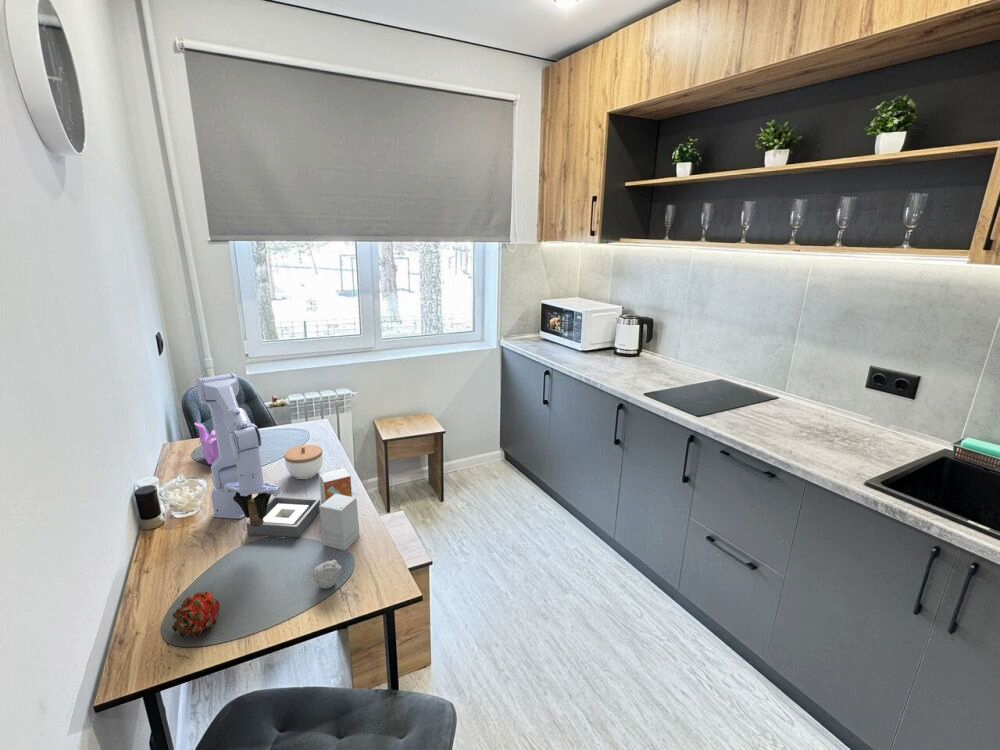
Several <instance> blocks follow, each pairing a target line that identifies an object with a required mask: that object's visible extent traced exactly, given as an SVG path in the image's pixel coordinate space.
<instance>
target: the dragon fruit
mask: <svg viewBox="0 0 1000 750" xmlns="http://www.w3.org/2000/svg"><path fill="white" fill-rule="evenodd" d="M220 605H221V604H220V602H219V600H218V599H217V598H216V599H215V596H214V595H213V593H211V592H210V591H207V590H205V592H199V591H198V592H196V593H195V594H194V595H193V596H192V597H190V596H187V597H186V598H185V599H184V600H183V601H182V602H181V605H180V607H179V608H177V609H176V610H175V612H173V613H172V618H173V619H174V620H175V622H174V623H173V625H172V627H171V628H172V629H171V630H172V631H173V632H178V636H179V637H181V638H184V637H187V636H192V635H193V636H192V638H193V639H195V638H198V637H200V635H201V634H202V633H203V631H204V630H205V629H208V628H211V627H212V626H216V625H215V624H217V618H216V616H217V615H218V613H219V612H220V610H221V609H220V607H221V606H220Z"/></svg>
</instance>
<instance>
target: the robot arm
mask: <svg viewBox="0 0 1000 750" xmlns="http://www.w3.org/2000/svg"><path fill="white" fill-rule="evenodd" d="M195 383H196V390H197V394H198V400H199V402H200V405H204V406H208V408H209V411H210V416H211V419H212V425H213V430H214V431H215V436H216V441H217V446H218V451H219V458H218V459H217V460H216V461H215V462H214V463H213V464H210V465H211V466H210V471H211V473H210V474H211V475H210V476H211V481H212V484H213V487H214V488H213V489H212V490H211V501H212V502H211V503H212V508H213V515H212V518H220V519H221V518H223V519H224V518H225V519H237V520H241V519H243V518H246V519H250V518H249V511H248V504H247V501H248V500H250V499H252V498H254V499H253V500H254V502H255V504H256V506H257V509H258V515H259V518H260V519H263V518H264V517H265V516H266V511H267V505H268V502H269V501H270V500H271V496H273V497H274V496H279V494H280V493H281V486H280V485H276V484H273V483H268V482H266V481H264V476H263V468H262V461H261V460H262V459H261V451H260V447H261V448H262V438H261V436H262V435H261V432H260V430H259V428H258V426H257V425H256V424H255V423H254V422H253V423H252V422H251V420H250V418H249V415H248V413H247V411H246V410H245V409H244V408H241V407H239V404H238V401H237V398H236V397H237V396H238V394H239V392H240V385H239V380H238V376H237V375H236V374H235V373H233V372H231V373H227V374H220V375H215V376H214V375H213V376H207V377H198V378H197V380H196V382H195ZM256 494H257V495H256ZM253 495H256V496H255V497H253Z"/></svg>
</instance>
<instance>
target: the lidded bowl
mask: <svg viewBox="0 0 1000 750" xmlns="http://www.w3.org/2000/svg"><path fill="white" fill-rule="evenodd" d="M283 458H284V462H285V467H286V469H287V471H288V473H289V474H290V475H291V476H292V477H294V478H295V477H296V478H297V479H296V478H295V479H296V480H298V479H306V480H309V479H308V478H310V479H312V478H311V477H313V476H314V477H315V476H316V475H317V473H319V472H320V470H321V468H322V465H323V449H322V448H321V446H319V445H315V444H303V445H298V446H295V447H292V448H290V449H287V450H286V451H285V452H284V454H283ZM314 477H313V478H314Z"/></svg>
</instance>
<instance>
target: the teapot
mask: <svg viewBox="0 0 1000 750" xmlns="http://www.w3.org/2000/svg"><path fill="white" fill-rule="evenodd" d="M194 425H195V427H197V429H198V431H199V440H200V441H199V442H200V444H201V446H202V447H203V450H202V451H203V452H202V453H203V459H204V460H206V463H207V464H209V465H212V464H213V463H214V462H215V461H216V460H217V459H218V458H219V451H218V446H217V441H216V436H215V431H214V429H213V430H212V431H211V432H210V433H209V434H208V431H207V430H206V428H205V427H204V425H203V424H201V423H198V422H194Z"/></svg>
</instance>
